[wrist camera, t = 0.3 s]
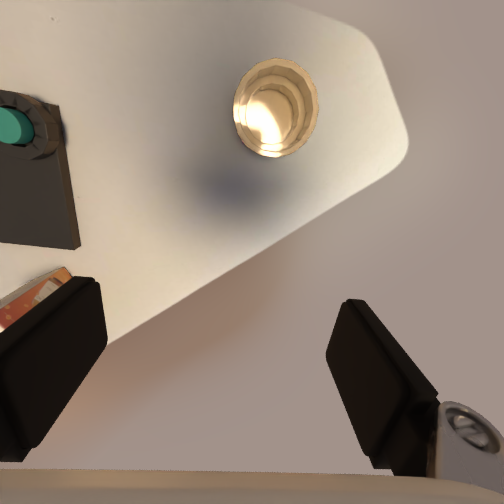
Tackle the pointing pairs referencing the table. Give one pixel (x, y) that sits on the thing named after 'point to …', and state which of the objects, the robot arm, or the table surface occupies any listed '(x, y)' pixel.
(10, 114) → the button
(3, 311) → the small box
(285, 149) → the little bowl
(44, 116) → the scale
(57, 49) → the table surface
